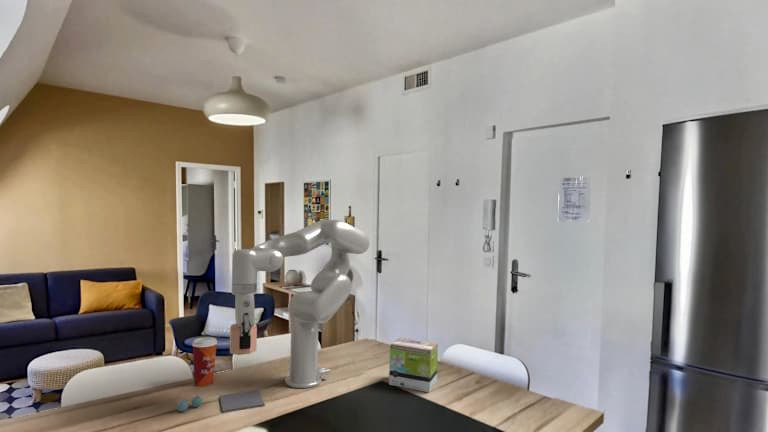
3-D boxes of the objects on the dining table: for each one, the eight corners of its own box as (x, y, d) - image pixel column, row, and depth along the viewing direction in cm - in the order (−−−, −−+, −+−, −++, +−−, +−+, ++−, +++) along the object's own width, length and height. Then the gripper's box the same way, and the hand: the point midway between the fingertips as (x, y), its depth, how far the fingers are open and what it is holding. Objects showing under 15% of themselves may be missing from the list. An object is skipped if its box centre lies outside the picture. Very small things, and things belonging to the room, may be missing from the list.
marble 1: (185, 400, 127) (191, 400, 126) (183, 411, 126) (189, 411, 124) (176, 400, 125) (182, 400, 123) (174, 411, 124) (179, 411, 122)
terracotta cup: (253, 346, 138) (254, 321, 138) (257, 352, 131) (258, 326, 131) (229, 348, 134) (229, 323, 135) (231, 355, 128) (232, 329, 128)
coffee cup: (207, 388, 142) (208, 343, 142) (185, 386, 144) (186, 341, 144) (221, 379, 150) (222, 337, 150) (200, 377, 152) (202, 335, 152)
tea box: (388, 386, 148) (389, 343, 148) (398, 376, 157) (399, 336, 157) (430, 393, 142) (430, 349, 142) (437, 383, 151) (438, 341, 152)
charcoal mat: (258, 391, 140) (258, 389, 140) (264, 406, 129) (264, 404, 129) (219, 397, 135) (219, 395, 135) (222, 412, 124) (222, 410, 124)
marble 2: (197, 400, 130) (205, 399, 130) (193, 409, 128) (201, 408, 127) (191, 394, 129) (200, 393, 128) (187, 404, 126) (196, 403, 126)
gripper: (261, 292, 127) (259, 351, 126) (252, 284, 142) (251, 337, 142) (234, 293, 123) (233, 354, 123) (229, 285, 139) (227, 339, 139)
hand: (243, 344), depth 133 cm, fingers closed on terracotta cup, 7 cm apart
